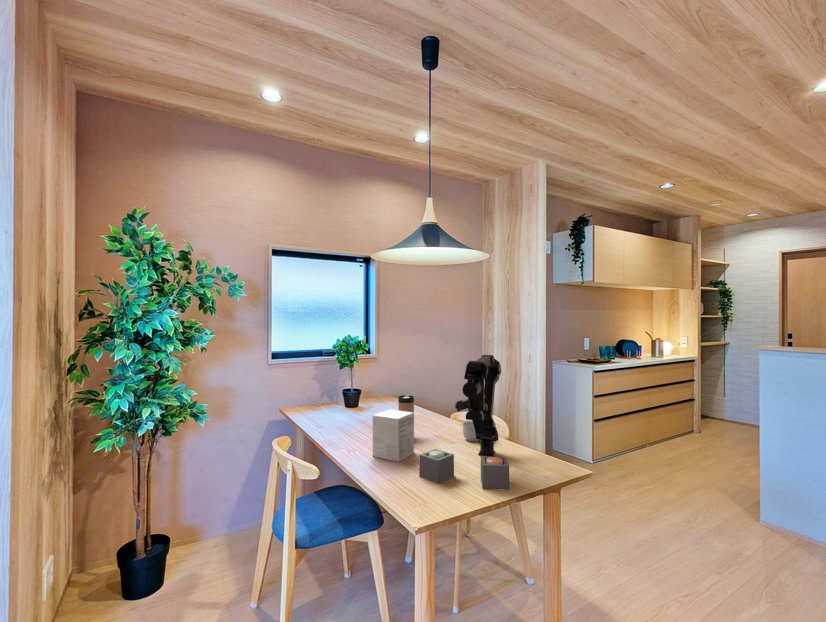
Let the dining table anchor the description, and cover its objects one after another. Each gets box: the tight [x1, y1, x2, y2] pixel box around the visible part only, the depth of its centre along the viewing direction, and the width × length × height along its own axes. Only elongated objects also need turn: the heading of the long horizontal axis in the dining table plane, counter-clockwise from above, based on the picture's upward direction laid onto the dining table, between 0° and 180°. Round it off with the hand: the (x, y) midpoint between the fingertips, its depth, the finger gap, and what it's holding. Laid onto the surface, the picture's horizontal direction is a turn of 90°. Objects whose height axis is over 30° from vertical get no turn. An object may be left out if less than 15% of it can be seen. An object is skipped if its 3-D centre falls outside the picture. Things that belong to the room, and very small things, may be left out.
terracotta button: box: [486, 456, 503, 465], centre depth 143 cm, size 6×6×3 cm
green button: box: [429, 450, 445, 459], centre depth 150 cm, size 6×6×3 cm
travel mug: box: [397, 394, 415, 413], centre depth 197 cm, size 8×8×20 cm
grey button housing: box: [418, 448, 455, 484], centre depth 150 cm, size 9×9×8 cm
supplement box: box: [372, 409, 415, 463], centre depth 174 cm, size 13×13×18 cm
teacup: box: [461, 420, 480, 442], centre depth 196 cm, size 14×11×8 cm
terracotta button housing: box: [480, 455, 510, 490], centre depth 143 cm, size 9×9×8 cm
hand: (477, 433), depth 160 cm, fingers closed
